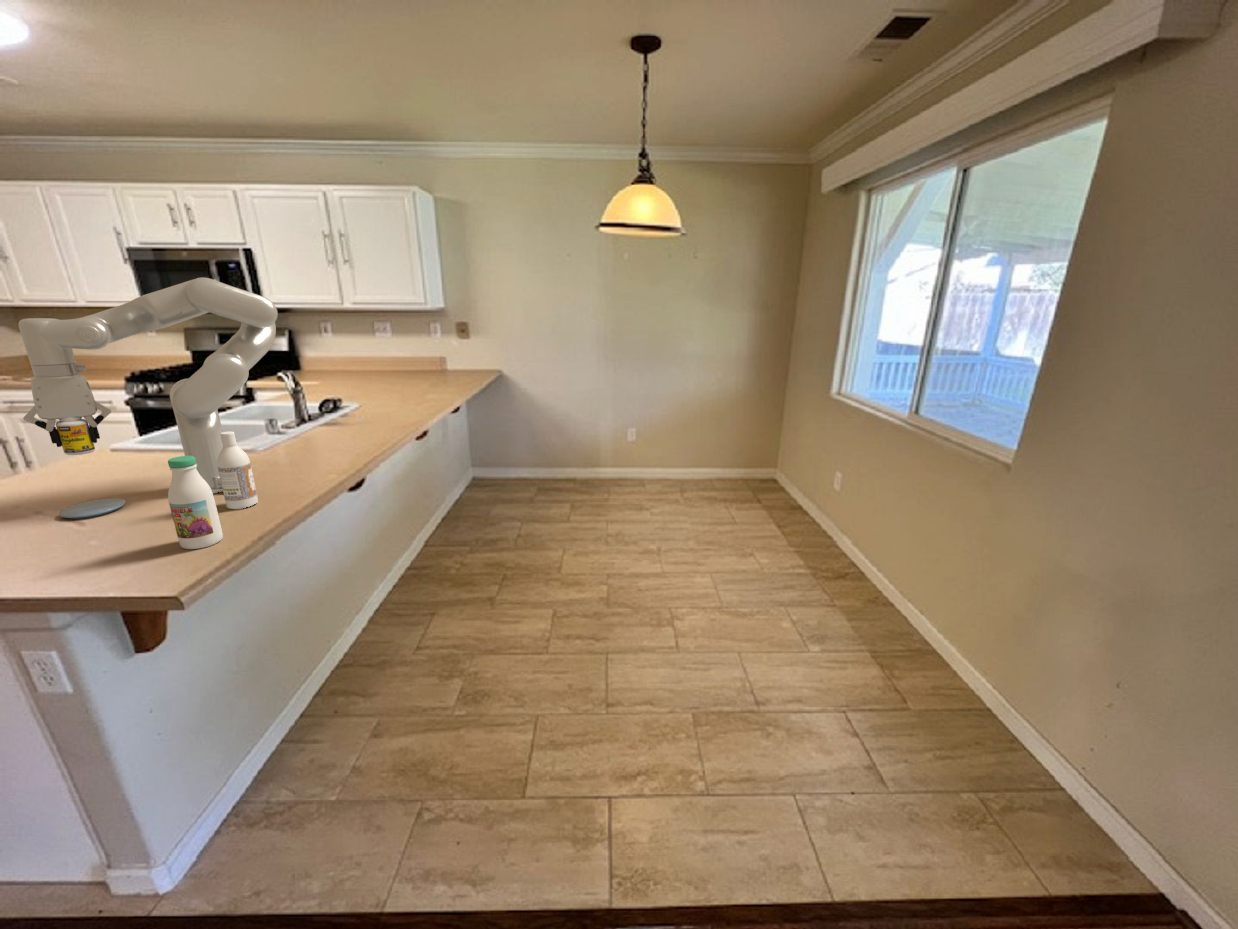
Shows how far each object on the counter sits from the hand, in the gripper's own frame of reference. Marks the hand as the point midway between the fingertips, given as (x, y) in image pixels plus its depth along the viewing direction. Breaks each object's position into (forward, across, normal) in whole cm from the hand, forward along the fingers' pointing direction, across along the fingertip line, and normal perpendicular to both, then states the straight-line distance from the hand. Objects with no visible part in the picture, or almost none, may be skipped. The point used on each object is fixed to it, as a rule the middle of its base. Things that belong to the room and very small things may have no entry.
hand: (77, 443), depth 129 cm
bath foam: (+18, -29, +22) cm, 40 cm away
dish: (+18, 0, +2) cm, 18 cm away
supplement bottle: (+3, 0, 0) cm, 3 cm away
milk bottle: (+18, -18, +43) cm, 50 cm away
